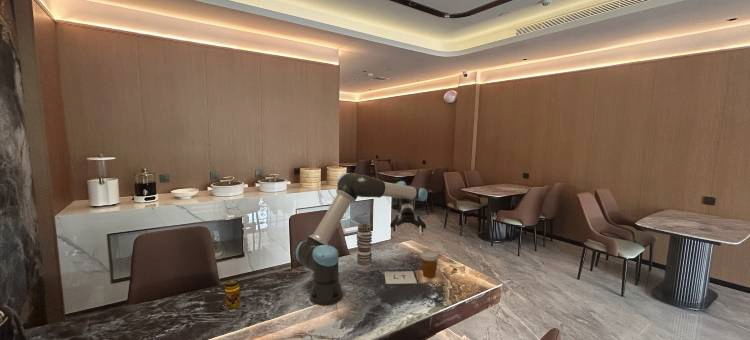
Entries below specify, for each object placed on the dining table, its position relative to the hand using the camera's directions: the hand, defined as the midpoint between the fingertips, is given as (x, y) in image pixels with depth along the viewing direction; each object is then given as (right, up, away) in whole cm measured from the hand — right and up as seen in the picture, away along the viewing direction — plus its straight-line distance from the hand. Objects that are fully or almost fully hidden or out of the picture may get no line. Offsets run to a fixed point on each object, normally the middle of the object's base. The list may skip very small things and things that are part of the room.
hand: (408, 234), depth 173 cm
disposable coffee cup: (+11, -21, -4) cm, 24 cm away
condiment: (-82, -26, -33) cm, 92 cm away
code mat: (-5, -22, -5) cm, 23 cm away
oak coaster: (+11, -22, -4) cm, 25 cm away
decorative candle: (-25, -21, +13) cm, 34 cm away
